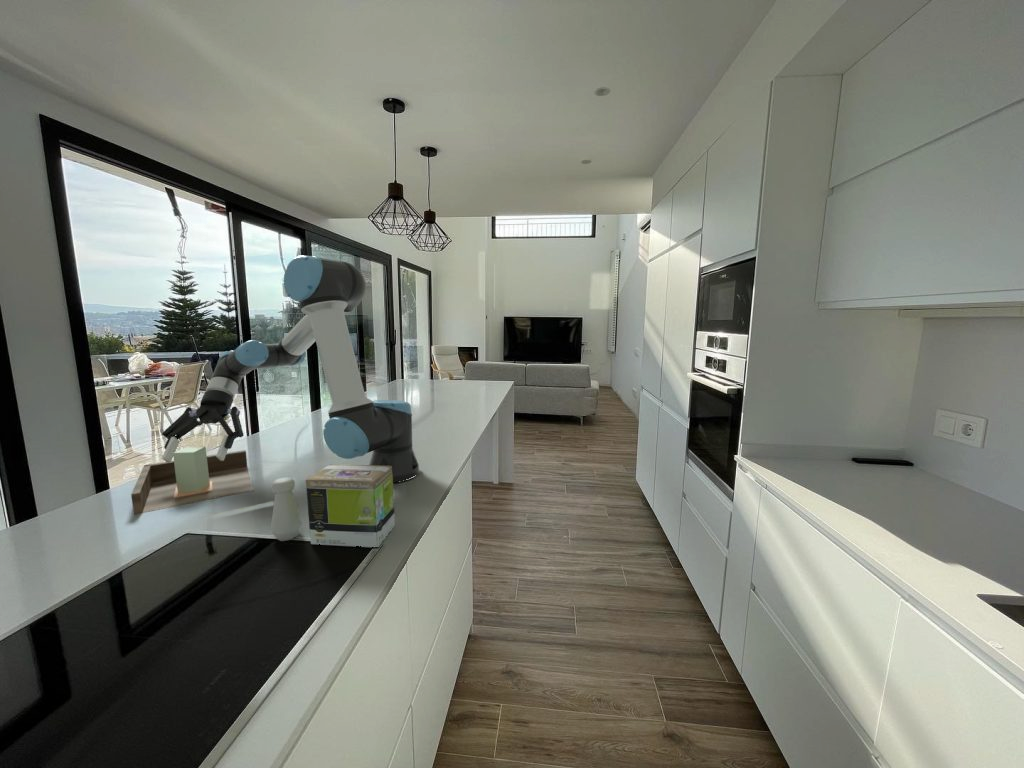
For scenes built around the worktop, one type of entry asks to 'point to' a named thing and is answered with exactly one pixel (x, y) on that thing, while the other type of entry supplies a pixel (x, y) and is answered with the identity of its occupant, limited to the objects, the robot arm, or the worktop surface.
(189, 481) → the sage block
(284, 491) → the salt shaker
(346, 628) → the worktop surface
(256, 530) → the worktop surface
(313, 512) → the tea box
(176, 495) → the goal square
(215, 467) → the tray
